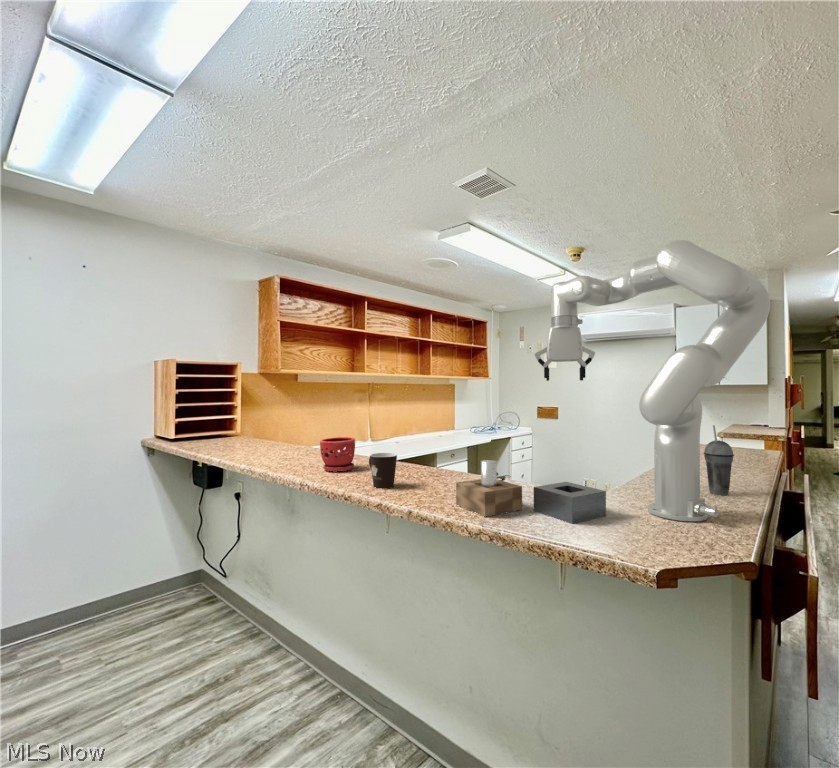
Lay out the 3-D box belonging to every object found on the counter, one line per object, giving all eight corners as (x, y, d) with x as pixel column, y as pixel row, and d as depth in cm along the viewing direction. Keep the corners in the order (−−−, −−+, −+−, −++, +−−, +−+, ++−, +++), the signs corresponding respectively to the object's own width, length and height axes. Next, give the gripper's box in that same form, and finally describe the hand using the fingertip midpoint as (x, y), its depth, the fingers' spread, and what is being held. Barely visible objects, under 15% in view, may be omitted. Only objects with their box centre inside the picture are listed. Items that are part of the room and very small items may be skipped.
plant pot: (335, 465, 170) (335, 436, 170) (361, 468, 163) (361, 437, 164) (312, 471, 159) (312, 439, 159) (339, 474, 152) (339, 441, 152)
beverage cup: (740, 497, 119) (739, 426, 119) (711, 496, 120) (711, 426, 121) (725, 491, 126) (725, 424, 127) (699, 490, 127) (698, 424, 128)
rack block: (522, 509, 108) (522, 486, 108) (485, 517, 102) (484, 492, 102) (491, 499, 118) (491, 477, 118) (456, 505, 112) (456, 482, 112)
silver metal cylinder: (499, 508, 109) (499, 461, 109) (487, 510, 107) (487, 463, 107) (490, 504, 112) (489, 459, 113) (478, 506, 110) (477, 460, 111)
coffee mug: (399, 488, 131) (399, 456, 131) (372, 490, 129) (372, 457, 129) (392, 480, 142) (392, 451, 142) (366, 482, 140) (366, 452, 140)
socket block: (606, 515, 102) (605, 491, 103) (572, 523, 96) (571, 497, 97) (566, 504, 113) (566, 481, 113) (533, 510, 107) (533, 487, 107)
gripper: (593, 324, 129) (593, 380, 129) (534, 326, 133) (534, 381, 133) (596, 320, 122) (597, 380, 121) (534, 323, 126) (534, 380, 126)
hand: (564, 380), depth 127 cm, fingers open, 9 cm apart
